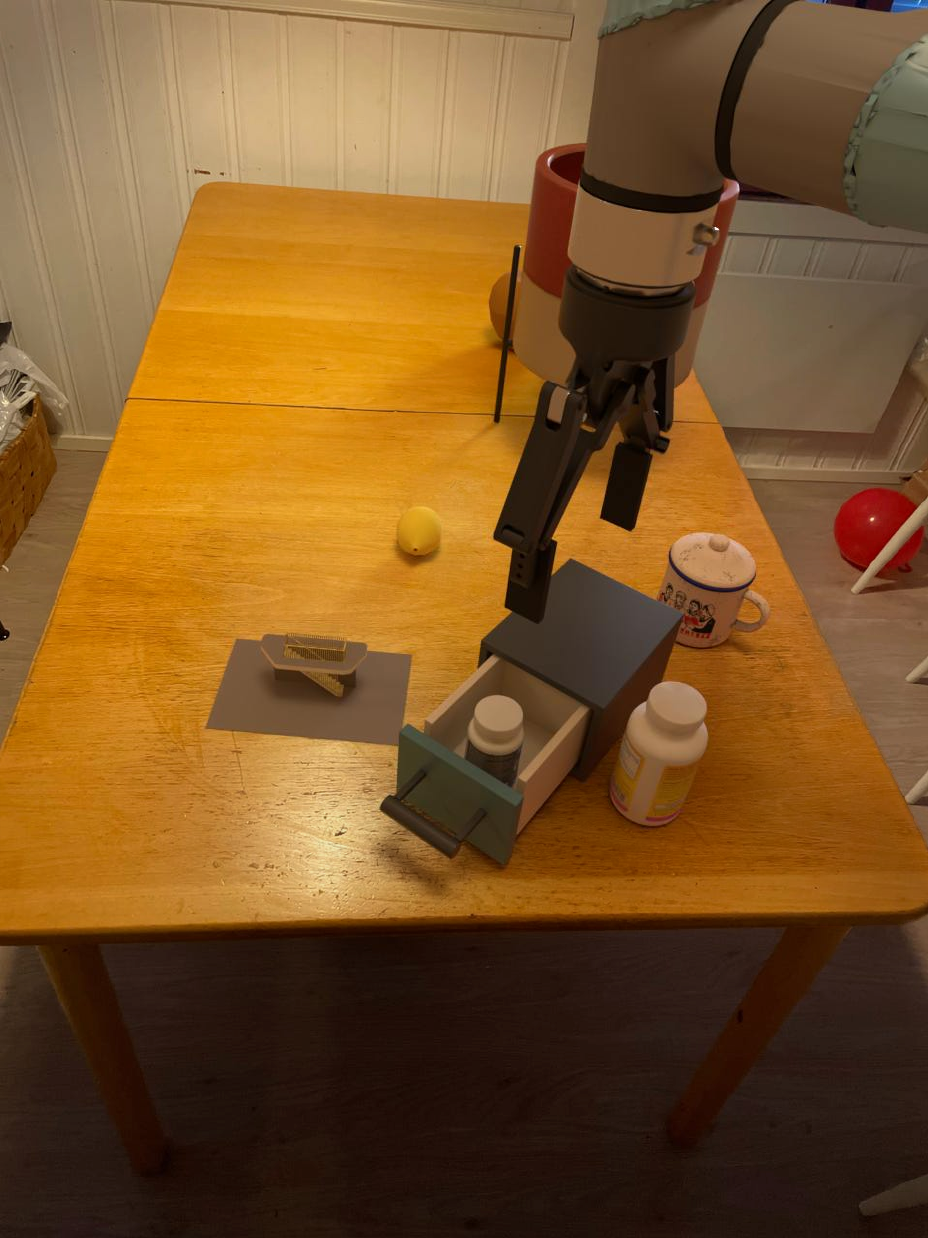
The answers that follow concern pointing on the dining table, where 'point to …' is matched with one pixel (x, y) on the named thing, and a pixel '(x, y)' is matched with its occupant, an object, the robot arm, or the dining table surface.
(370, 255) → the dining table surface
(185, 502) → the dining table surface
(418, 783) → the teal drawer
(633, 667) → the drawer cabinet
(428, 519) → the lemon
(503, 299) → the apple
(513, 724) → the pill bottle
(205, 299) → the dining table surface
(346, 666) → the platform
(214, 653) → the dining table surface
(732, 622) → the teacup with lid
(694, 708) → the supplement bottle
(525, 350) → the planter
